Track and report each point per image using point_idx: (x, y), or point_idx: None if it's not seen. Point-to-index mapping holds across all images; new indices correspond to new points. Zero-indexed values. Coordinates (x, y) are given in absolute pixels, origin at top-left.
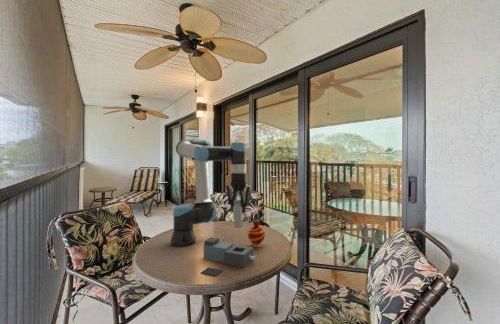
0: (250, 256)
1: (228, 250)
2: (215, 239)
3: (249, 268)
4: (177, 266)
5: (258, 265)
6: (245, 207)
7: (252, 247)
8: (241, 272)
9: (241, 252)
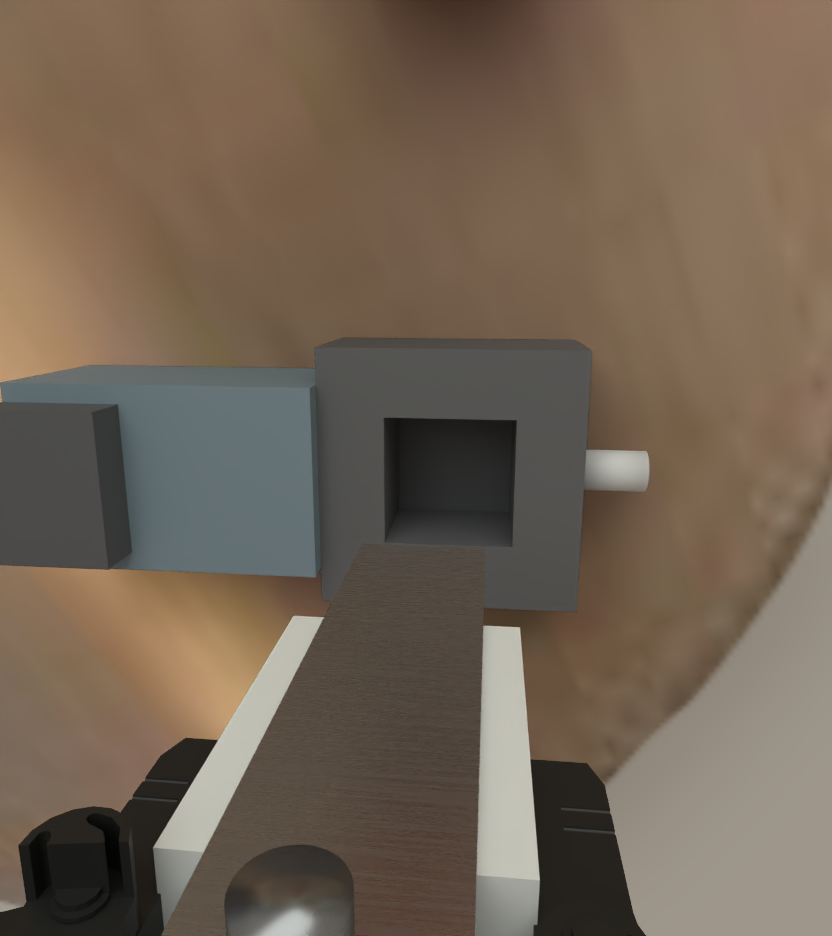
0: (602, 485)
1: (348, 551)
2: (76, 465)
3: (617, 560)
4: (28, 727)
5: (681, 468)
6: (631, 905)
7: (582, 350)
8: (577, 655)
9: (517, 556)
